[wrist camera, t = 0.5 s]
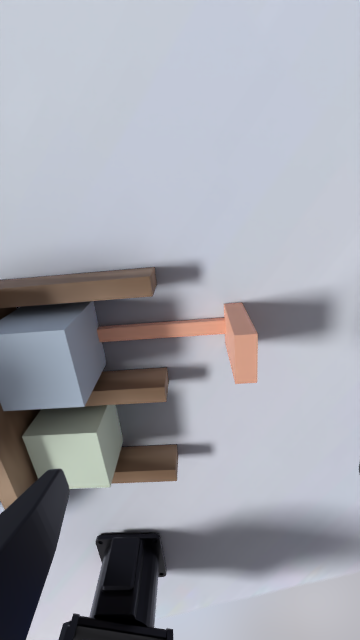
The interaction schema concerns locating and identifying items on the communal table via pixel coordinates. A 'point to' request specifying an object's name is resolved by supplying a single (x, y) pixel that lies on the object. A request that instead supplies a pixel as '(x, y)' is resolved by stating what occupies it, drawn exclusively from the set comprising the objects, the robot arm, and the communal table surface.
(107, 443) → the green block
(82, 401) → the wooden bar with block
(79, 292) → the lane rack
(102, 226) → the communal table surface
